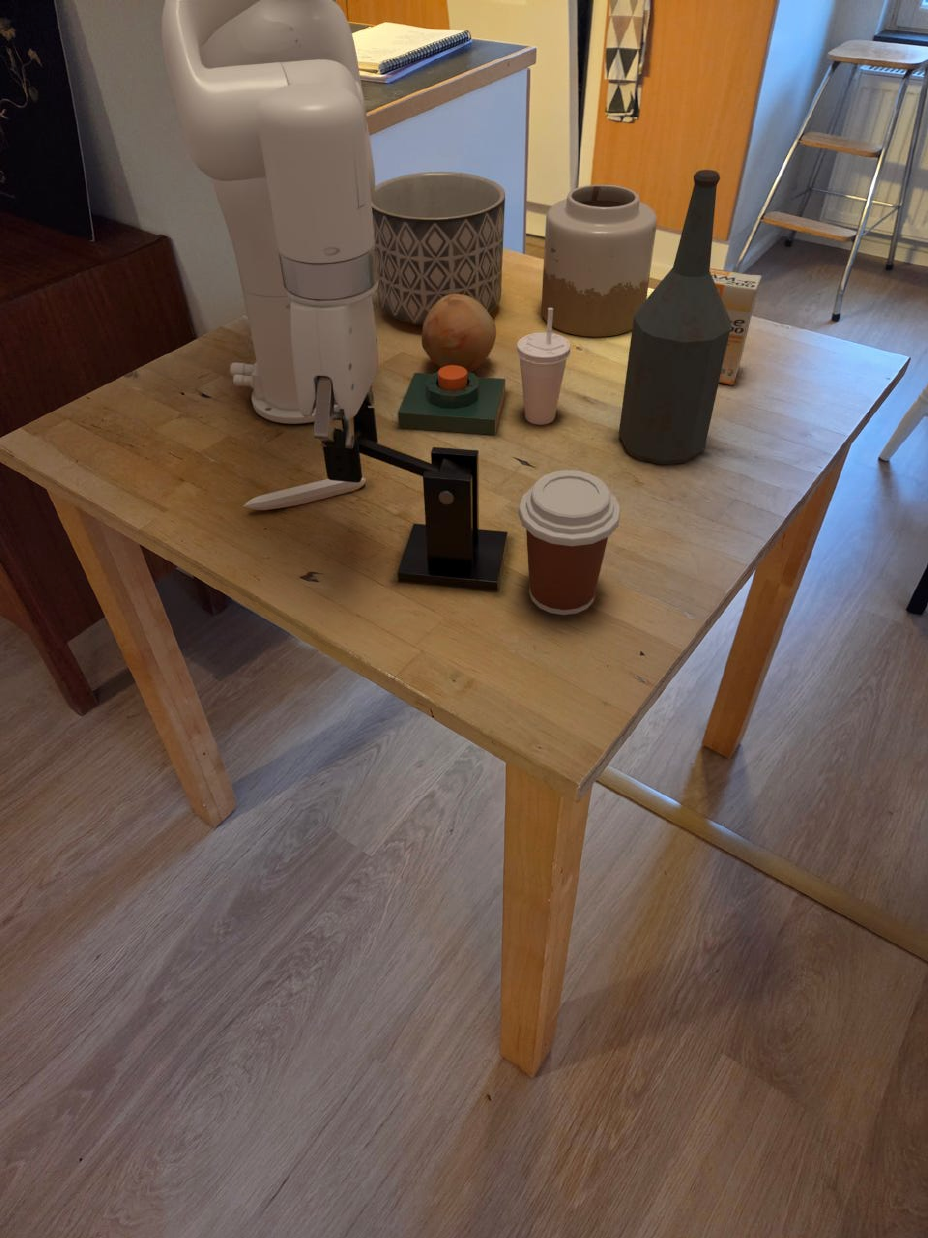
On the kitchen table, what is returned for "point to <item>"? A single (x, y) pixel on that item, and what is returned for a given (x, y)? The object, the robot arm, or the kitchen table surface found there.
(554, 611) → the coffee cup
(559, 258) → the vase
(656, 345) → the bottle
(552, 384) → the smoothie
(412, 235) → the planter
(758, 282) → the supplement box
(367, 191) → the robot arm
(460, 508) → the bracket
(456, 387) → the button
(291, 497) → the pen
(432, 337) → the onion
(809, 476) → the kitchen table surface
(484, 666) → the kitchen table surface
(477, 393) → the button block
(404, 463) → the lever
